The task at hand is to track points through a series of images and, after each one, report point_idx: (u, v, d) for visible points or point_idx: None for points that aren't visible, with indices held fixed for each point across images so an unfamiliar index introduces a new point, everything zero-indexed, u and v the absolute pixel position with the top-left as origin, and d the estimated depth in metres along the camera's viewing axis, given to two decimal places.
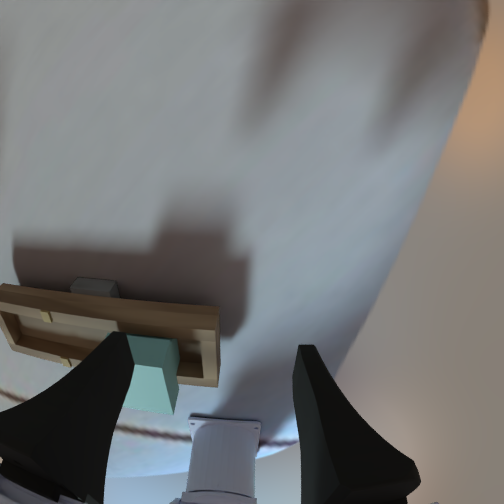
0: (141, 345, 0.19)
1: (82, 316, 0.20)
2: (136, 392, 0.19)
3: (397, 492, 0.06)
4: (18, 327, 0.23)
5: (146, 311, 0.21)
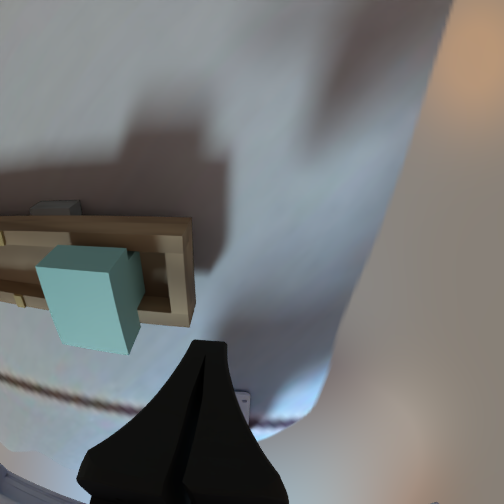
0: (91, 253, 0.15)
1: (34, 231, 0.16)
2: (82, 319, 0.15)
3: None
4: None
5: (105, 223, 0.17)
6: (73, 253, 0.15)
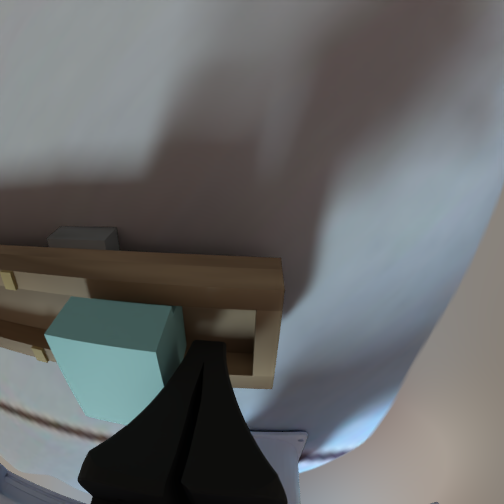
0: (122, 314, 0.11)
1: (59, 276, 0.12)
2: (114, 397, 0.11)
3: None
4: None
5: (163, 266, 0.13)
6: (96, 313, 0.11)
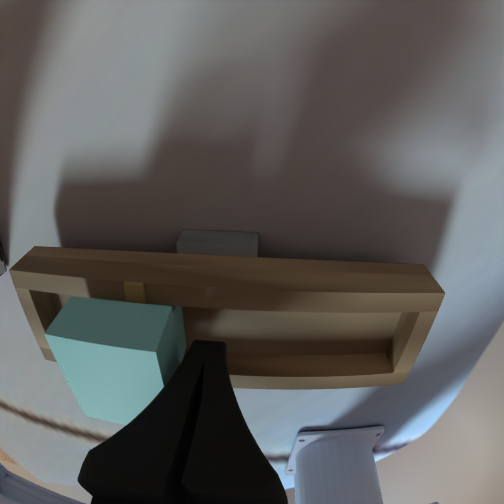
0: (122, 314, 0.11)
1: (221, 288, 0.12)
2: (114, 397, 0.11)
3: None
4: None
5: (335, 274, 0.13)
6: (96, 313, 0.11)
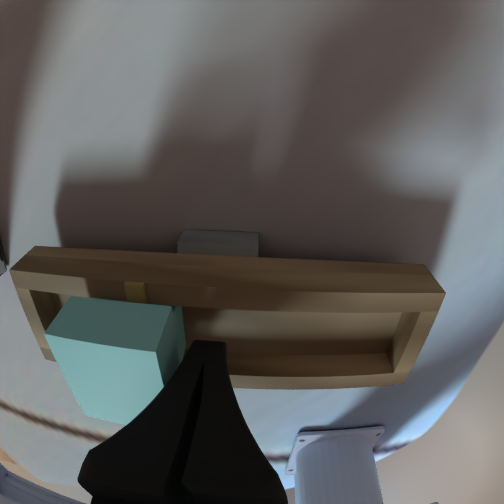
0: (122, 314, 0.11)
1: (222, 288, 0.12)
2: (114, 397, 0.11)
3: None
4: None
5: (336, 274, 0.13)
6: (95, 313, 0.11)
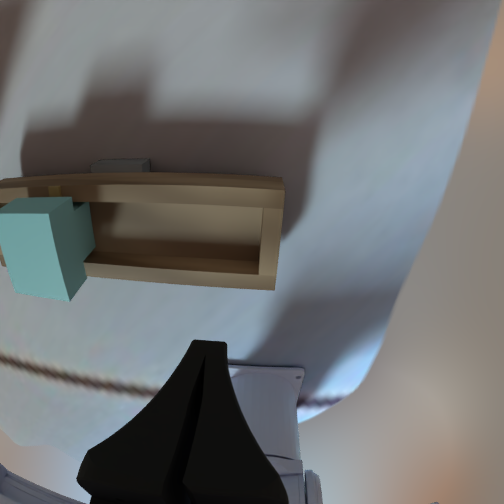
0: (40, 201, 0.14)
1: (105, 185, 0.16)
2: (29, 264, 0.14)
3: None
4: None
5: (191, 178, 0.17)
6: (26, 202, 0.14)
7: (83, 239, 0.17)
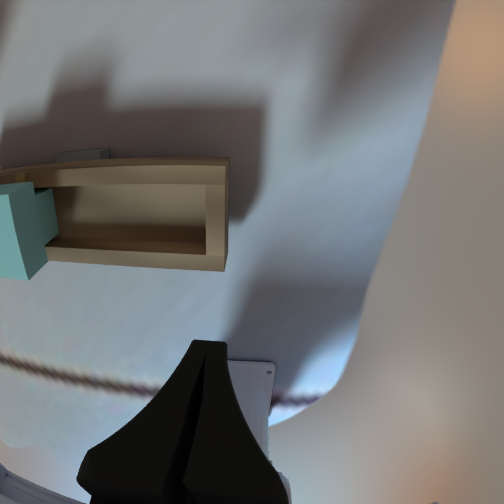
0: (6, 187, 0.14)
1: (62, 170, 0.16)
2: None
3: None
4: None
5: (140, 161, 0.17)
6: None
7: (45, 224, 0.17)
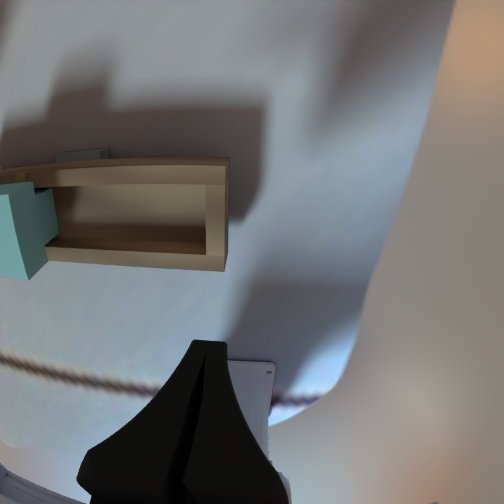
0: (6, 187, 0.14)
1: (62, 170, 0.16)
2: None
3: None
4: None
5: (140, 161, 0.17)
6: None
7: (45, 224, 0.17)
